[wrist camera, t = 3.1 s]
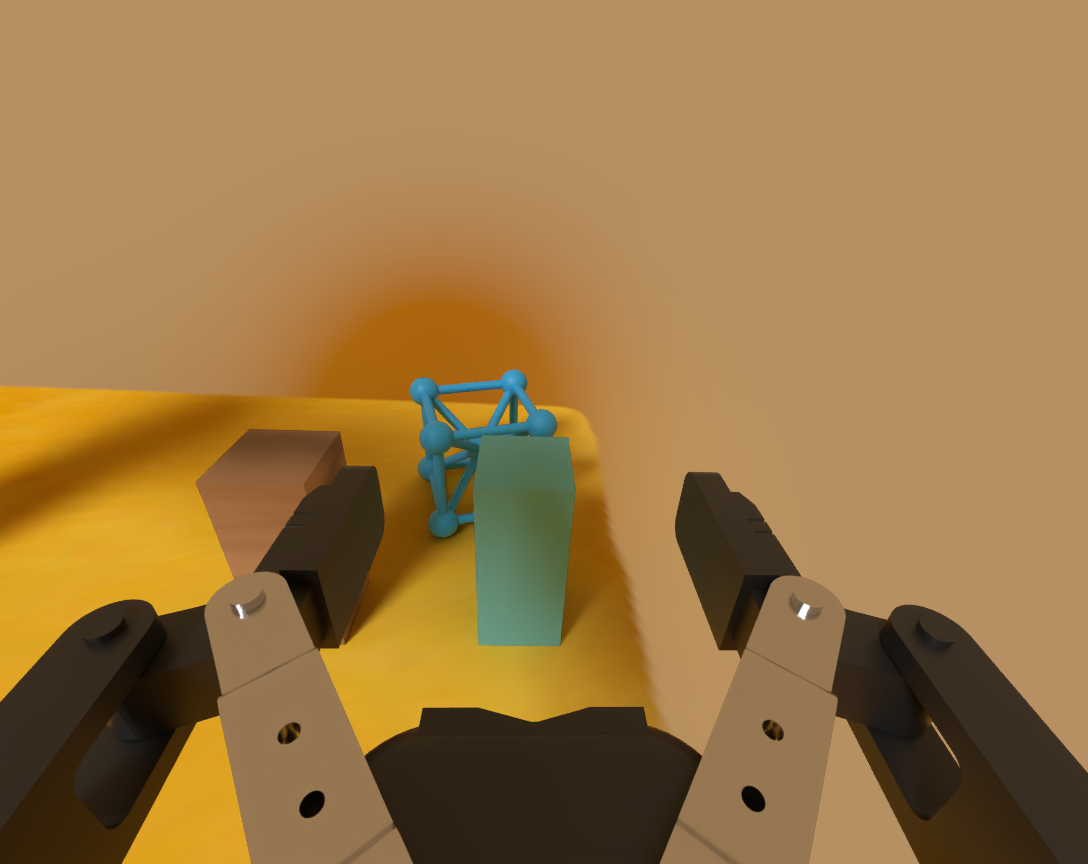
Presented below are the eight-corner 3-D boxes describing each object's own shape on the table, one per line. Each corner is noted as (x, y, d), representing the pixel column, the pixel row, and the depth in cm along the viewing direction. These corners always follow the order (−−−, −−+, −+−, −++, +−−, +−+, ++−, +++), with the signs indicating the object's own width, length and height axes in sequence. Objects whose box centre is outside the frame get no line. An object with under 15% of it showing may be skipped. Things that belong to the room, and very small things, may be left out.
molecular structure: (520, 458, 47) (523, 364, 42) (554, 523, 39) (562, 416, 34) (417, 473, 44) (407, 374, 39) (431, 546, 36) (419, 433, 31)
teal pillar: (560, 645, 29) (575, 489, 23) (478, 645, 29) (472, 487, 23) (556, 582, 34) (568, 437, 28) (485, 581, 33) (481, 435, 27)
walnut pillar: (344, 644, 29) (303, 484, 23) (260, 644, 28) (195, 481, 22) (369, 580, 33) (339, 431, 27) (295, 579, 33) (249, 429, 27)
